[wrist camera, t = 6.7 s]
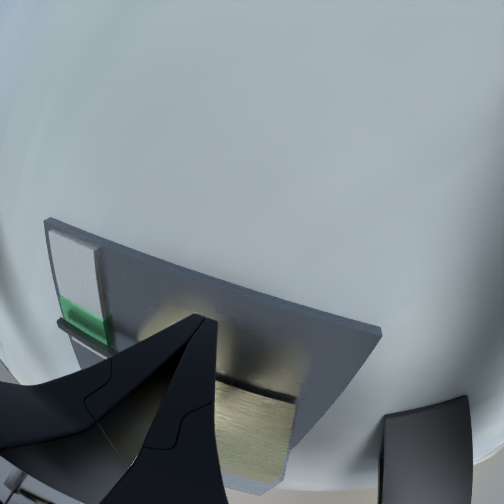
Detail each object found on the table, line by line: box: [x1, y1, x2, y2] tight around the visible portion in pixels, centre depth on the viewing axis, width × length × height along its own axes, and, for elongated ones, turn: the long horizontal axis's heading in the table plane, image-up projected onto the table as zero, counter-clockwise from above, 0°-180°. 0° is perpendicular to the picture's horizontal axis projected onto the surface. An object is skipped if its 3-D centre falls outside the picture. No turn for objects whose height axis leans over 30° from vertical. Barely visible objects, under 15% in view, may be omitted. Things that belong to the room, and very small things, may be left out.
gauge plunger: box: [57, 318, 296, 484], centre depth 14 cm, size 16×8×5 cm, turn 77°
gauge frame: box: [44, 217, 382, 495], centre depth 14 cm, size 19×16×5 cm
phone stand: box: [378, 396, 473, 504], centre depth 9 cm, size 9×6×12 cm, turn 16°
